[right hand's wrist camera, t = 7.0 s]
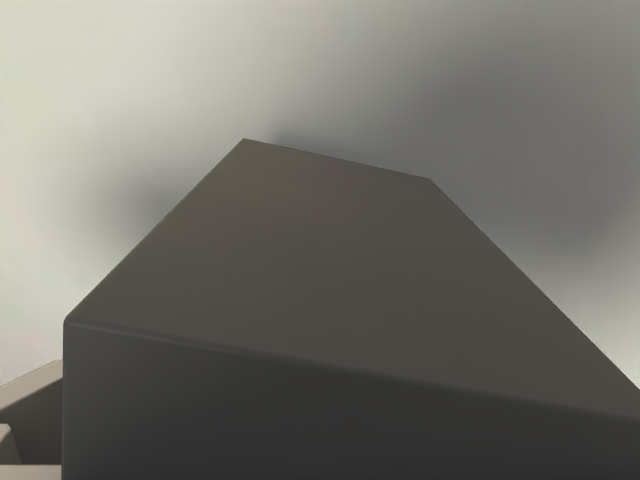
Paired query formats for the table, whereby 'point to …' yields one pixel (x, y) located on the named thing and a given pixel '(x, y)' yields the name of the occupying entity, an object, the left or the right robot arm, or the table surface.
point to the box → (332, 343)
